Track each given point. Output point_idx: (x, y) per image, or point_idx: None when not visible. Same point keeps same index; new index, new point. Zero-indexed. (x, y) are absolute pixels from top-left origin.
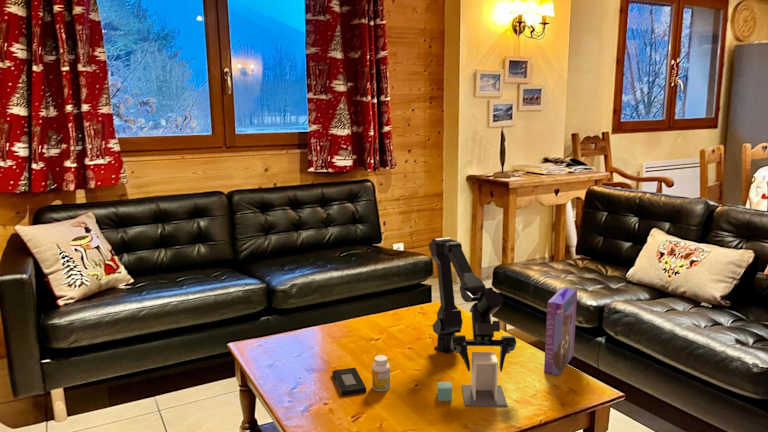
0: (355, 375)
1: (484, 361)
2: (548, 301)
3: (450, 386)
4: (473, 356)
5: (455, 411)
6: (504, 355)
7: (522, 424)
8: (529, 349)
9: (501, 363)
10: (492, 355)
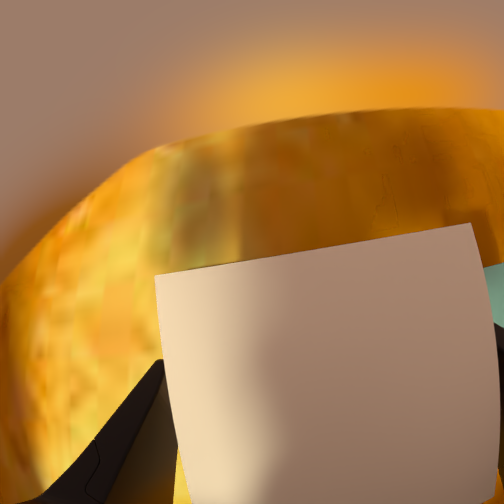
0: None
1: (357, 259)
2: None
3: (488, 290)
4: (498, 386)
5: (415, 195)
6: (77, 473)
7: (145, 155)
8: None
9: (139, 405)
10: (235, 491)
